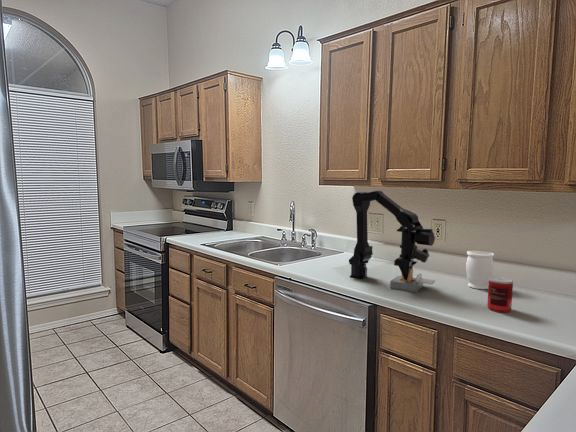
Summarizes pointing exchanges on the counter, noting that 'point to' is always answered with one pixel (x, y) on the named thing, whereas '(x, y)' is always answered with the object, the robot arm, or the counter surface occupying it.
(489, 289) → the canned food
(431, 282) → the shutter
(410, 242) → the robot arm
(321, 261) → the counter surface
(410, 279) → the plug
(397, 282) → the socket
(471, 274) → the jar
